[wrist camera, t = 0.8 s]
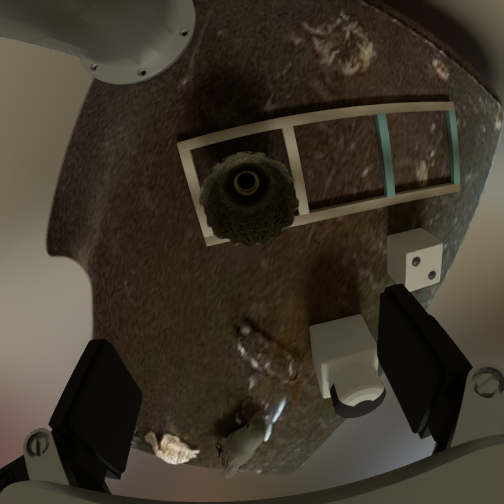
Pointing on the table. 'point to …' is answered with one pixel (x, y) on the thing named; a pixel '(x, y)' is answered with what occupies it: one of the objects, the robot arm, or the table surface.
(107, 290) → the table surface
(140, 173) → the table surface
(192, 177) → the ladder
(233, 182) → the dark patterned vase
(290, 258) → the table surface
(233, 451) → the decorative bird
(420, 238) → the die
